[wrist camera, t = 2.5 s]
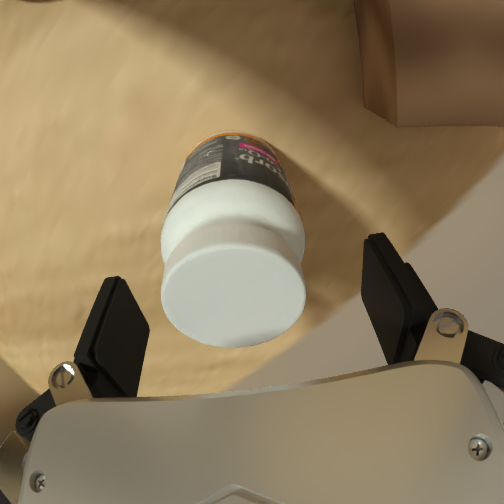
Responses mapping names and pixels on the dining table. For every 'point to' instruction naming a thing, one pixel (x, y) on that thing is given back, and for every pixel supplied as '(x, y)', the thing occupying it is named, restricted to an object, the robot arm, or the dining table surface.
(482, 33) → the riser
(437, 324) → the robot arm
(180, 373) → the dining table surface
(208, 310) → the pill bottle
